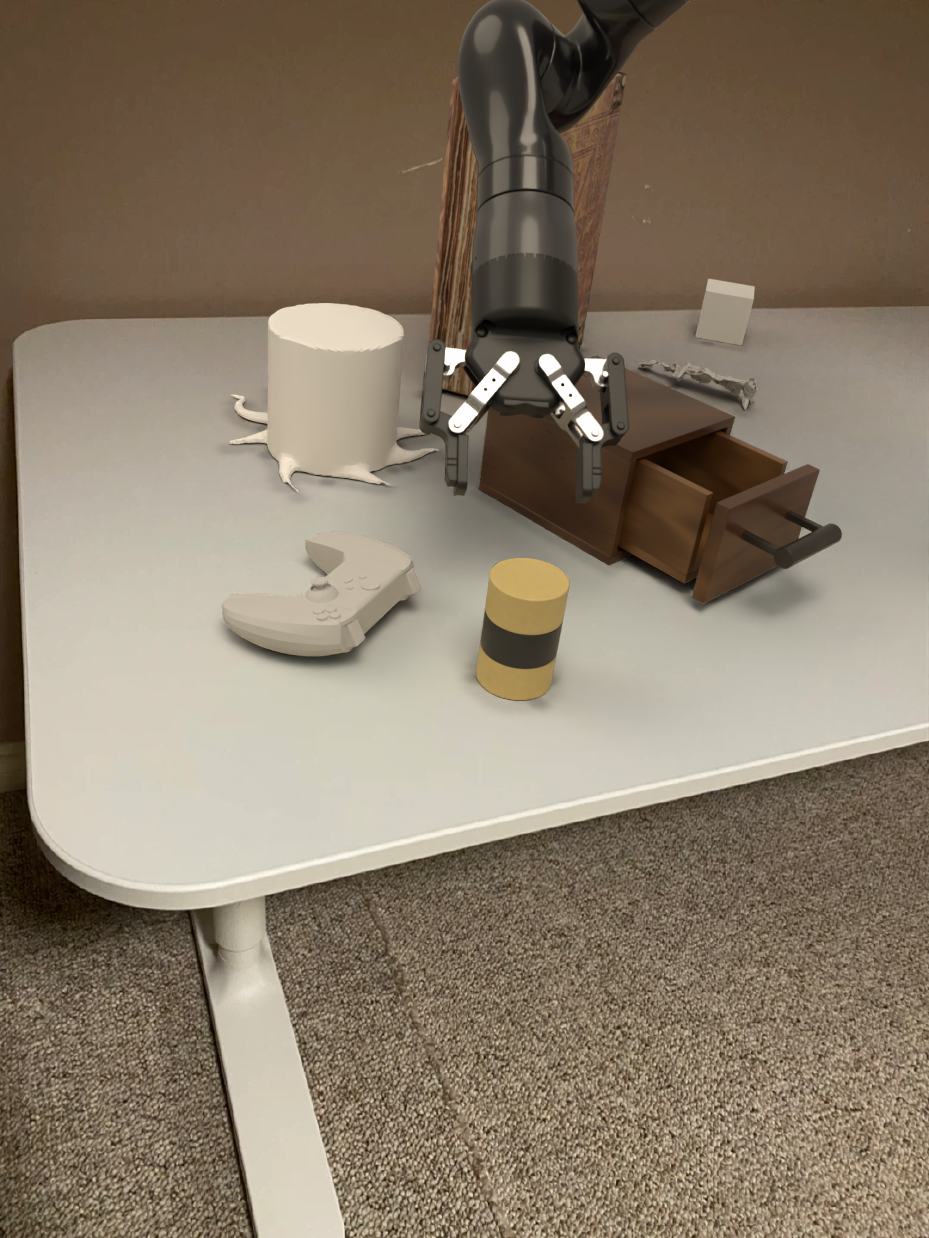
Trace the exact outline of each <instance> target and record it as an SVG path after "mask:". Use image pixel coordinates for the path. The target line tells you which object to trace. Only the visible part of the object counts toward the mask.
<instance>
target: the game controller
mask: <svg viewBox="0 0 929 1238" xmlns="http://www.w3.org/2000/svg"><path fill="white" fill-rule="evenodd" d="M304 549H305V551H306V554H307V555H308V557H309V559H310V560H311V561H312V562H313V563H314V564H315V565H316V567H318V568H319V569H321V570H322V572H324V573H325V574H327V575H325V576H318V577H314V578H312V579H311V580H310V585H311V586H310V587H309V588H308V589H307V590H306V592H304V593H296V594H292V595H291V594H290V595H282V594H275V593H231V594H229V596H228V597H227V598H226V599H224V601H223V602H221V608H222V609H221V612H222V613H221V614H222V618H223V620H224V622H225V624H226V625H227V627H228V628H229V629H230V630H231V631H233V632H234V633H235V634H236V635H237V636H239V637H241V638H242V639H244V640H246V641H248V642H250V643H252V644H254V645H256V646H258V647H261V648H263V649H266V650H269V651H273V652H276V653H281V654H284V655H285V654H286V655H291V656H298V657H299V656H300V657H327V656H331V655H339V654H344V653H349V652H351V651H352V650H353V649H354V648H355V647H358V646H359V645H361V644H362V643H363V642H364V641H365V640H366V634H367V632H368V631H369V630H371V628H373V627H374V626H375V625H376V624H377V623H378V622H379V621H380V620H381V619H382V618H383V617H384V616H385V615H386V614H387V613H388V612H389V611H390V610H391V609H392V608H393V607H394V606H396V605H397V604H398V603H399V602H400V601H406V600H407V599H408V598H409V597H410V596H413V595H416V594H417V593H418V592H419V591H420V590H422V585H421V582H420V580H419V577H418V574H417V572H416V569H415V564H414V560H413V558H412V557H411V556H410V555H409V554H408V553H406V552H405V551H403V550H401V549H399V548H398V547H395V546H394V545H392V544H389V543H387V542H384V541H381V540H379V539H376V538H372V537H370V536H365V535H361V534H357V533H351V532H344V531H323V532H319V533H316V534H313V535H312V536H310V537H308V538H305V539H304Z"/></svg>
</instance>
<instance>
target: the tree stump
mask: <svg viewBox="0 0 929 1238" xmlns="http://www.w3.org/2000/svg"><path fill="white" fill-rule="evenodd" d="M404 343H405V330H404V328H403V325H402V324H401V323H400V322H399V321H398V320H397V319H396V318H393V317H392V316H391V315H388V314H385V313H383V312H381V311H379V310H376V309H373V308H369V307H361V306H358V305H351V304H348V303H347V304H346V303H342V304H341V303H334V302H333V303H332V302H320V303H318V302H313V303H304V304H296V305H294V306H285V307H283V308H279V309H278V310H276V311H275V312H274V313H273V314H271V315H270V317H268V322H267V411H255V410H250V409H246V408H245V407H244V406H243V405H244V403H245V402H246V400H247V399H246V397H245V396H244V395H239V394H230V395H229V396H232V397H233V398H236V399H238V400H237V401H236V402H235V404H234V411H236V413H237V415H238V416H240V417H242V418H244V419H246V420H248V421H253V422H254V423H258V424H259V423H261V424H266V425H267V428H266V429H264V430H262V431H259V432H257V433H254V434H251V435H247V436H243V437H241V438H235V439H231V440H229V445H241V444H245V443H246V444H257V443H259V444H261V443H262V444H264V445H265V444H266V445H267V449H268V452H269V454H271V456H272V458H274V459H275V460H276V461H277V462H278V465H279V469H278V474H279V476H280V478H281V480H282V482H283V484H286V483H287V484H289V485H290V486H291V487H292V488H294V490H295V491H296V492H297V493H300V490H298V489H297V488H296V487H295V486H294V485H293V484H292V482H291V477H292V475H293V473H294V472H304V473H307V474H310V475H317V476H318V475H319V476H323V477H326V476H328V477H333V478H339V479H340V478H342V479H344V478H345V479H349V480H357V481H360V482H365V483H369V484H376V485H378V486H379V485H380V484H381V485H389V486H391V487H392V486H393V485H392V484H390V483H388V482H386V481H385V480H382V479H380V478H379V477H378V476H376V475H374V474H373V473H372V472H375V471H379V470H382V469H383V468H385V467H388V466H390V465H397V464H403V463H410V462H411V461H415V460H417V459H420V458H422V457H424V456H425V455H428V454H430V453H433V452H434V451H436V452H439V451H440V449H439V448H432V447H431V448H429V447H426V448H420V449H413V450H408V449H404V448H402V447H400V446H399V445H398V442H397V441H398V440H400V439H403V438H408V437H415V436H422V435H423V436H424V435H425V436H426V434H424V433H423V432H421V430H420V428H416V429H415V428H410V427H403V426H402V427H400V426H398V420H399V407H400V395H401V394H400V393H401V382H402V369H403V354H404Z"/></svg>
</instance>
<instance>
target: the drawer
mask: <svg viewBox="0 0 929 1238" xmlns="http://www.w3.org/2000/svg"><path fill="white" fill-rule="evenodd" d="M788 464H789V461H787V460H786V459H783V458H782V457H779V456H777V455H775V454H772V453H770V452H768V451H765V450H763V449H761V448H759V447H757V446H754V445H753V444H750V443H748V442H746V441H744V440H742V439H739V438H738V437H735V436H733V435H731V434H730V435H728V434H726V433H724V432H722V431H720V430H718V431H715V432H712V433H709V434H707V435H704V436H701V437H698V438H695V439H692V440H690V441H687V442H684V443H681V444H678V445H676V446H673V447H670V448H667V449H664V450H662V451H659V452H656V453H653V454H650V455H648V456H645V457H642V458H639V459H636V465H635V469H634V474H633V479H632V483H631V488H630V493H629V498H628V502H627V507H626V512H625V517H624V521H623V526H622V531H621V535H620V540H619V545H618V546H619V547H621V548H623V549H624V550H626V551H628V552H630V553H631V554H633V555H632V556H635V557H636V558H638V559H640V560H642V561H644V562H645V563H647V564H649V565H651V566H653V567H654V568H656V569H658V570H659V571H661V572H663V573H665V574H667V575H669V576H670V577H672V578H674V579H675V580H677V581H679V582H681V583H682V584H686V583H688V582H691V581H693V580H695V579H696V580H695V583H694V588H693V591H692V595H691V598H693V600H696V601H698V602H699V603H701V604H702V605H704V604H708V603H709V602H711V601H713V600H715V599H717V598H718V597H721V596H722V595H724V594H726V593H728V592H730V591H732V590H734V589H736V588H738V587H739V586H741V585H744V584H746V583H747V582H749V581H751V580H753V579H755V578H757V577H759V576H761V575H763V574H765V573H767V572H769V571H771V570H773V569H775V568H777V567H779V568H781V569H785V570H786V569H789V568H791V567H794V566H795V565H797V564H799V563H801V562H803V561H805V560H807V559H809V558H811V557H812V556H815V555H816V554H818V553H820V552H822V551H824V550H827V549H828V548H830V547H832V546H834V545H835V544H837V543H839V542H840V541H841V540H842V537H843V532H842V529H841V528H840V526H839V525H837V524H836V523H833V522H832V523H831V522H830V523H827V524H825V525H822V524H820V523H817V522H815V521H814V520H812V519H809V518H807V517H806V515H807V513H808V509H809V506H810V503H811V500H812V497H813V493H814V491H815V487H816V484H817V481H818V478H819V475H820V472H821V469H820V468H818V467H816V466H813V465H811V464H809V463H806V464H805V465H801V466H799V467H797V468H795V469H792V470H790V471H787V472H786V470H787V466H788ZM802 528H804V529H805V530H807V531H809V532H808V533H807V534H805V535H803V536H801V537H800V534H801V531H802Z"/></svg>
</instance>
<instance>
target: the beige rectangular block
mask: <svg viewBox="0 0 929 1238" xmlns="http://www.w3.org/2000/svg"><path fill="white" fill-rule="evenodd" d="M754 300H755V286H754V285H748V284H742V283H737V282H731V281H724V280H720V279H713V278H707V282H706V287H705V291H704V296H703V300H702V304H701V309H700V314H699V317H698V322H697V326H696V331H695V338H697V339H703V340H708V341H714V342H720V343H725V344H731V345H735V346H740V347H741V346H743V344H744V340H745V336H746V331H747V329H748V328H747V327H748V324H749V321H750V320H749V319H750V316H751V311H752V308H753V303H754Z"/></svg>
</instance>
